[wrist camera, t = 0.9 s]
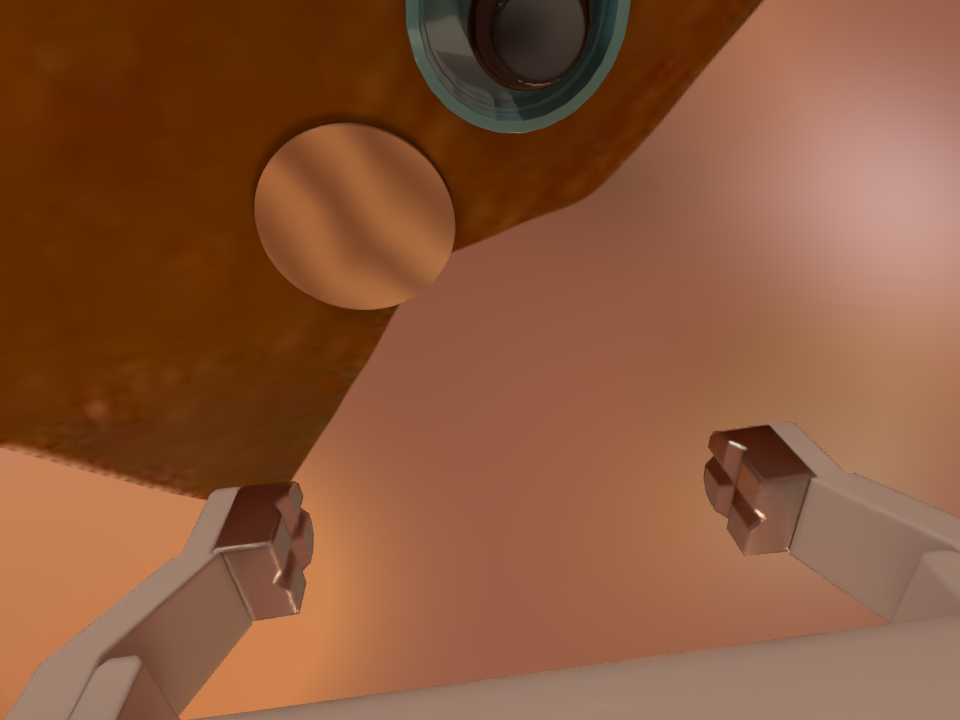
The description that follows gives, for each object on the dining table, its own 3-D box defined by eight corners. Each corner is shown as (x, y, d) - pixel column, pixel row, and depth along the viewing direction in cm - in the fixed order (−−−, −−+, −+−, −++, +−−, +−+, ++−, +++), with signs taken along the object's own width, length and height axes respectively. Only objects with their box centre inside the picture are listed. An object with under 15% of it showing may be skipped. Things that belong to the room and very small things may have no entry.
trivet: (343, 72, 38) (342, 73, 37) (494, 225, 46) (495, 228, 45) (214, 224, 44) (212, 227, 43) (369, 335, 52) (368, 339, 51)
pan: (523, -198, 30) (537, -214, 27) (647, 13, 37) (672, 22, 34) (362, 0, 35) (357, 8, 32) (499, 153, 42) (507, 174, 39)
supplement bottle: (578, -31, 35) (637, -15, 26) (536, 79, 39) (574, 128, 30) (478, -78, 33) (504, -79, 24) (444, 43, 37) (455, 83, 28)
